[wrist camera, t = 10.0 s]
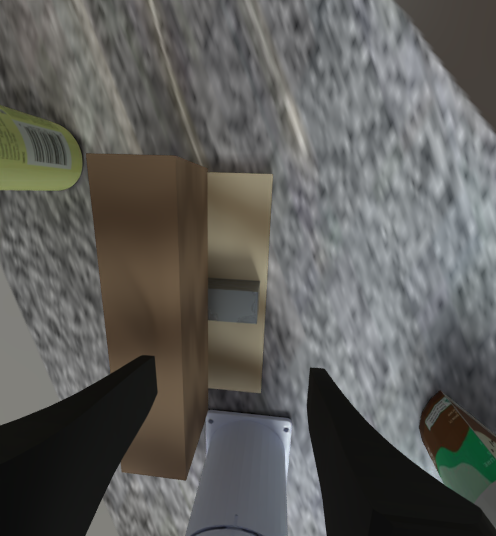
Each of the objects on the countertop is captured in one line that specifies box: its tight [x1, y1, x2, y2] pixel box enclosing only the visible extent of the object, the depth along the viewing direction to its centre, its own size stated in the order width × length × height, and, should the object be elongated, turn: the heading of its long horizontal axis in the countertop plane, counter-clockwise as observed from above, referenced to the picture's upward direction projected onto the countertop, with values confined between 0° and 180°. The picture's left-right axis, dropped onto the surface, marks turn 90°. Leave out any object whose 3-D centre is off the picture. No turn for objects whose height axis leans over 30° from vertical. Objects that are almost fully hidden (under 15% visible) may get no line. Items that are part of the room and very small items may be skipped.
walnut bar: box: [86, 153, 208, 481], centre depth 17 cm, size 18×4×6 cm, turn 178°
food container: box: [419, 390, 496, 529], centre depth 19 cm, size 12×6×10 cm, turn 52°
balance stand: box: [208, 172, 273, 393], centre depth 21 cm, size 18×12×4 cm, turn 178°
